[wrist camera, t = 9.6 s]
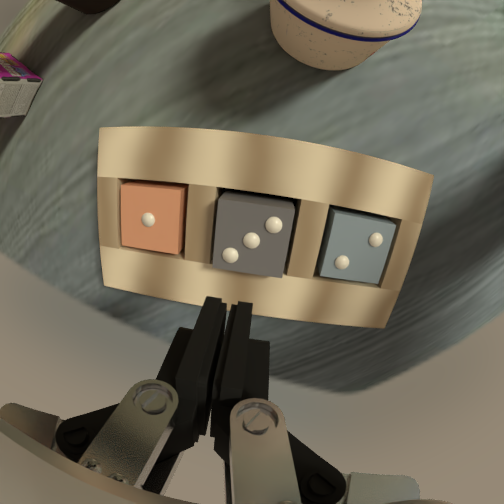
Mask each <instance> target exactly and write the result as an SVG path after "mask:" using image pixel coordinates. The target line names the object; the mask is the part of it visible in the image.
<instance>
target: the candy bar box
mask: <svg viewBox="0 0 504 504" xmlns="http://www.w3.org/2000/svg"><path fill="white" fill-rule="evenodd" d="M42 81H43V79H41V78H40V77H39V76H38V75H36V74H35V73H34V72H32V71H31V70H30V69H29V68H27V67H26V66H25V65H23V64H22V63H21V62H20V61H18V60H17V59H16V58H15V57H13V56H12V55H11V54H10V53H2V52H0V118H8V117H18V116H26V114H27V113H28V111H29V109H30V106H31V104H32V101H33V99H34V97H35V95H36V93H37V91H38V89H39V87H40V85H41V83H42Z"/></svg>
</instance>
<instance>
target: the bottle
mask: <svg viewBox="0 0 504 504" xmlns="http://www.w3.org/2000/svg"><path fill="white" fill-rule="evenodd" d="M56 1H59V2H61V3H63V4H65V5H68V6H70V7H72V8H74V9H76V10H78V11H81V12H83V13H85V14H95V13H98V12H101V11H104V10H106V9H107V8H109V7H111V6H112V5H114V4H115V3H116V2H117V1H119V0H56Z"/></svg>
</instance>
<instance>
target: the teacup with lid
mask: <svg viewBox="0 0 504 504" xmlns="http://www.w3.org/2000/svg"><path fill="white" fill-rule="evenodd" d="M421 9H422V0H270V19H271V28H272V32H273V34H274V36H275V38H276V40H277V42H278V43H279V45H280V46H281V47H282V48H283V49H284V50H285V51H286V52H287V53H288V54H289V55H291V56H292V57H293V58H295V59H296V60H298V61H300V62H302V63H304V64H306V65H309V66H311V67H315V68H318V69H323V70H344V69H349V68H352V67H354V66H357V65H359V64H360V63H362V62H363V61H365V60H366V59H367V58H368V57H370V56H371V55H372V54H373V53H375V52H376V51H377V50H378V49H380V48H381V47H382V46H384V45H385V44H386V43H387V42H389V41H390V40H393V39H396V38H399V37H401V36H403V35H405V34H406V33H408V32H409V31H410V30H412V29H413V27H414V26H415V25H416V23H417V22H418V20H419V17H420V13H421Z"/></svg>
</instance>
